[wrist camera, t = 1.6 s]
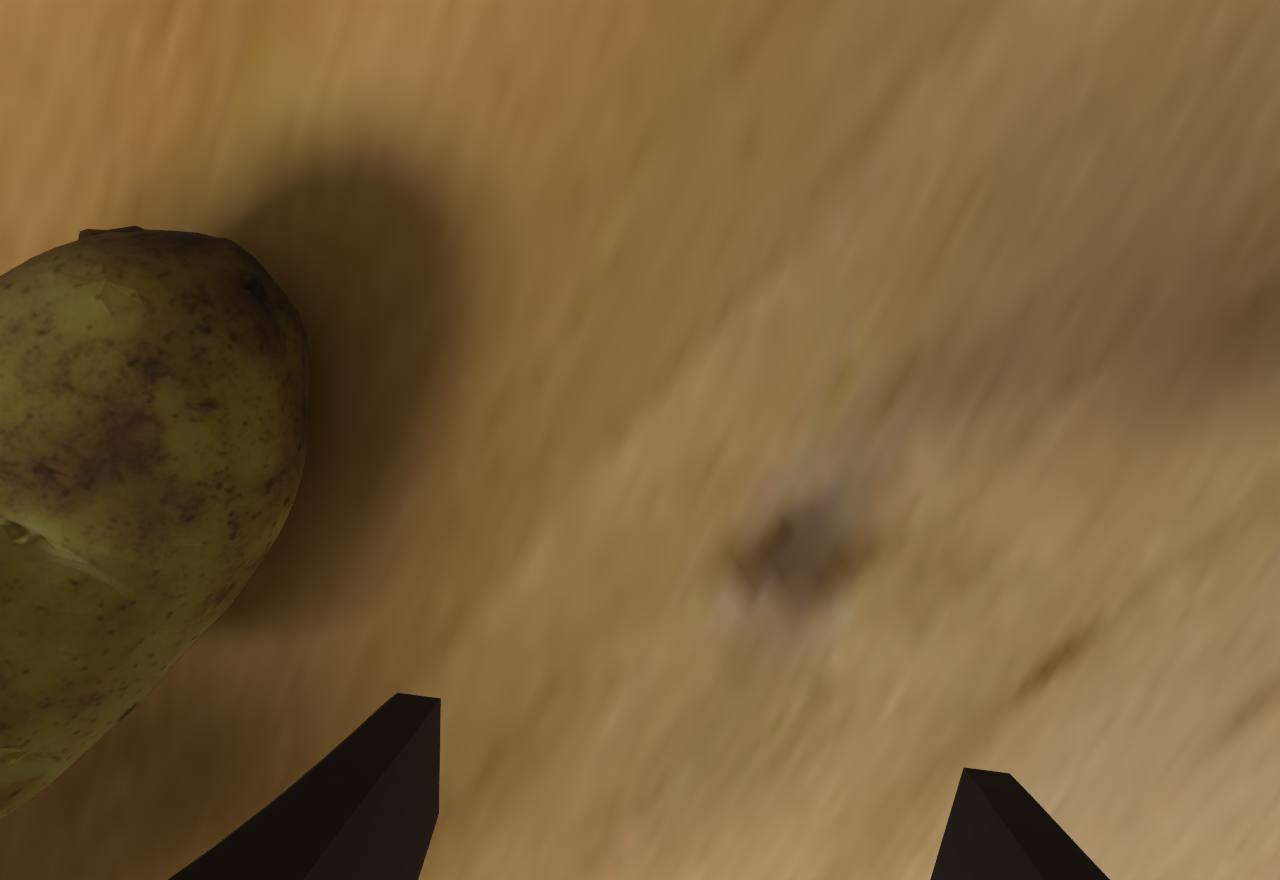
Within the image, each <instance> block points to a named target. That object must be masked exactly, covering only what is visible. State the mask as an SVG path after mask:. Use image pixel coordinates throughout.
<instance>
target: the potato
mask: <svg viewBox="0 0 1280 880" xmlns="http://www.w3.org/2000/svg"><path fill="white" fill-rule="evenodd" d="M309 381H310V364H309V355H308V345H307V336H306V334H305V331H304V328H303V326H302V323H301V320H300V317H299V314H298V312H297V311H296V310H295V308H294V307H293V306H292V304H291V303H290V301H289V300H288V298H287V297H286V295H285V294H284V292H283V291H282V290H281V289H280V288H279V287H278V285H277V284H276V283H275V282H274V280H273V279H272V278H271V276H270V275H269V274H268V273H267V271H266V270H265V269H264V268H263V267H262V265H261V264H260V263H259V262H258V261H257V260H256V258H255V257H253V256H252V255H251V254H249V253H248V252H246V251H245V250H244V249H242V248H241V247H240V246H238V245H237V244H236V243H234V242H233V241H231V240H228V239H226V238H215V237H212V236H208V235H204V234H200V233H193V232H180V231H164V230H145V229H142V228H140V227H137V226H131V227H125V228H118V229H111V230H93V229H86V230H83V231H80V234H79V239H78V241H74V242H71V243H68V244H65V245H62V246H59V247H56V248H53V249H51V250H49V251H46V252H44V253H42V254H40V255H38V256H35V257H33V258H31V259H29V260H27V261H26V262H24V263H22V264H20V265H19V266H17V267H15V268H13V269H12V270H10V271H8V272H7V273H5V274H3V275H1V276H0V819H1V818H3V817H5V816H6V815H8V814H10V813H11V812H13V811H15V810H16V809H18V808H19V807H21V806H22V805H24V804H25V803H27V802H28V801H30V800H31V799H33V798H34V797H35V796H36V795H38V794H39V793H40V792H41V791H43V790H44V789H45V788H46V787H47V786H49V785H50V784H51V783H52V782H53V781H54V780H55V779H56V778H57V777H59V776H60V775H61V774H62V773H63V772H64V771H65V770H66V769H67V768H69V767H70V766H71V765H72V764H73V763H74V762H75V761H76V760H77V759H78V758H80V757H81V756H82V755H83V754H84V753H85V752H86V751H87V750H88V749H90V748H91V747H92V746H93V745H94V744H95V743H96V742H97V741H98V740H100V739H101V738H102V737H103V736H104V735H105V734H106V733H107V732H109V731H110V730H111V729H112V728H113V727H114V726H116V725H117V724H118V723H119V722H120V721H121V720H123V719H124V718H125V717H126V716H127V715H128V714H129V713H130V712H131V711H133V710H134V709H135V708H136V707H137V706H138V705H139V704H140V702H141V701H142V700H143V699H144V698H145V697H146V696H147V695H148V694H149V693H150V692H151V691H152V690H153V689H154V688H155V687H156V685H157V684H158V683H159V682H160V681H161V680H162V679H163V677H164V676H165V675H166V674H167V673H168V671H169V670H170V669H171V668H172V666H173V665H174V664H175V663H176V662H177V661H178V660H179V659H180V658H181V657H182V655H183V654H184V653H185V652H186V651H187V650H188V649H189V647H190V646H191V645H192V644H193V643H194V642H195V641H196V640H197V639H198V638H199V637H200V636H201V635H202V634H203V633H204V632H205V631H206V630H207V629H208V628H209V627H210V626H211V625H212V624H213V623H214V622H215V621H216V620H217V619H218V618H219V617H220V616H221V615H222V614H223V613H224V612H225V611H226V610H227V609H228V607H229V606H230V605H231V604H232V602H233V601H234V600H235V599H236V597H237V596H238V595H239V594H240V592H241V591H242V590H243V588H244V587H245V586H246V585H247V583H248V582H249V580H250V579H251V577H252V576H253V574H254V573H255V571H256V570H257V568H258V567H259V565H260V564H261V562H262V561H263V559H264V558H265V556H266V555H267V553H268V551H269V550H270V548H271V546H272V545H273V543H274V542H275V540H276V538H277V537H278V535H279V533H280V531H281V529H282V527H283V525H284V523H285V521H286V519H287V517H288V515H289V512H290V510H291V508H292V505H293V503H294V501H295V499H296V495H297V492H298V489H299V486H300V482H301V478H302V474H303V470H304V465H305V460H306V455H307V450H308V441H309V423H310V404H309Z"/></svg>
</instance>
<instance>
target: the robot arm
mask: <svg viewBox="0 0 1280 880" xmlns="http://www.w3.org/2000/svg"><path fill="white" fill-rule="evenodd" d="M440 707H441V699H440V698H432V697H425V696H417V695H409V694H402V693H397V694H396V695H394V696H393V697H391V698H390V699H389V700H388V701H387V702H386V703H384V704H383V705H382V706H381V707H380V708H379V709H378V710H377V711H376V712H375V713H373V714H372V715H371V716H370V717H369V718H368V719H367V720H366V721H365V722H364V723H363V724H361V725H360V726H359V727H358V728H357V729H356V730H355V731H354V732H353V733H352V734H350V735H349V736H348V737H347V738H346V739H345V740H344V741H343V742H341V743H340V744H339V745H338V746H337V747H336V748H335V749H334V750H332V751H331V752H330V753H329V754H328V755H327V756H326V757H325V758H323V759H322V760H321V761H320V762H319V763H318V764H316V765H315V766H314V767H313V768H312V769H311V770H309V771H308V772H307V773H306V774H305V775H303V776H302V777H301V778H300V779H299V780H298V781H296V782H295V783H294V784H293V785H292V786H290V787H289V788H288V789H287V790H286V791H285V792H283V793H282V794H281V795H280V796H279V797H277V798H276V799H275V800H274V801H272V802H271V803H270V804H269V805H267V806H266V807H265V808H264V809H262V810H261V811H260V812H258V813H257V814H256V815H255V816H253V817H252V818H251V819H249V820H248V821H247V822H245V823H244V824H243V825H242V826H240V827H239V828H238V829H236V830H235V831H234V832H233V833H231V834H230V835H229V836H227V837H226V838H225V839H224V840H222V841H221V842H220V843H218V844H217V845H216V846H214V847H213V848H212V849H210V850H209V851H208V852H206V853H205V854H203V855H202V856H201V857H199V858H198V859H196V860H195V861H194V862H192V863H191V864H189V865H188V866H187V867H185V868H184V869H182V870H181V871H180V872H178V873H177V874H175V875H174V876H172V877H171V878H169V879H168V880H418V878H419V875H420V872H421V869H422V866H423V862H424V859H425V856H426V853H427V850H428V847H429V844H430V840H431V837H432V834H433V831H434V827H435V824H436V821H437V818H438V814H439V767H440ZM931 880H1110V879H1109V878H1108V877H1107V876H1106V875H1105V874H1104V873H1103V872H1102V871H1101V870H1100V869H1099V868H1098V867H1097V866H1096V865H1095V864H1094V863H1093V861H1092V860H1091V859H1090V858H1089V857H1088V856H1087V855H1086V854H1085V853H1084V852H1083V851H1082V850H1081V849H1080V848H1079V846H1078V845H1077V844H1076V843H1075V842H1074V841H1073V840H1072V839H1071V838H1070V837H1069V836H1068V835H1067V834H1066V833H1065V832H1064V830H1063V829H1062V828H1061V827H1060V826H1059V825H1058V824H1057V823H1056V822H1055V821H1054V820H1053V819H1052V818H1051V816H1050V815H1049V814H1048V813H1047V812H1046V811H1045V810H1044V809H1043V808H1042V807H1041V806H1040V805H1039V804H1038V803H1037V801H1036V800H1035V799H1034V798H1033V797H1032V796H1031V795H1030V794H1029V793H1028V792H1027V791H1026V790H1025V789H1024V788H1023V787H1022V786H1021V785H1020V784H1019V783H1018V782H1017V781H1016V780H1015V779H1014V778H1013V777H1012V776H1011V775H1010V774H1009V773H1002V772H994V771H987V770H979V769H971V768H964V769H963V772H962V775H961V779H960V782H959V785H958V789H957V792H956V795H955V799H954V802H953V806H952V809H951V812H950V816H949V819H948V822H947V826H946V829H945V833H944V836H943V839H942V843H941V846H940V849H939V853H938V856H937V860H936V863H935V866H934V870H933V873H932V876H931Z"/></svg>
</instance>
